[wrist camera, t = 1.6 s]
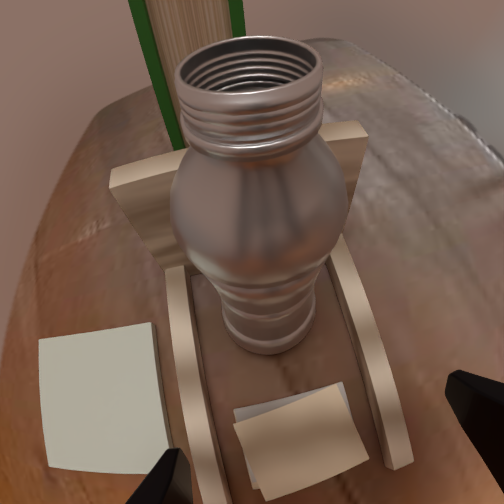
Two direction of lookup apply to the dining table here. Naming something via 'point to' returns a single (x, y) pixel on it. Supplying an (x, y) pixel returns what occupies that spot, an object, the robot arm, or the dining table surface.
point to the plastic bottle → (257, 184)
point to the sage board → (103, 400)
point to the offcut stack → (298, 440)
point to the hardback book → (180, 43)
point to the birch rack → (184, 321)
